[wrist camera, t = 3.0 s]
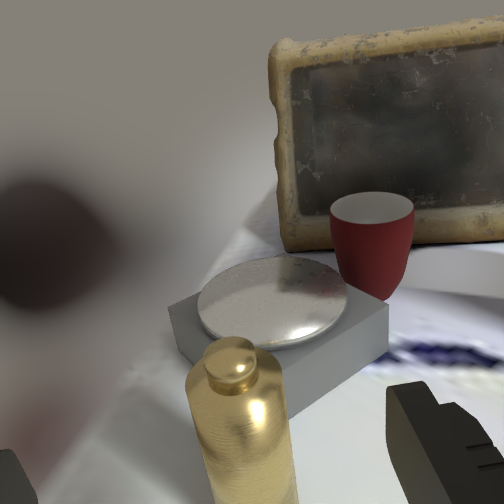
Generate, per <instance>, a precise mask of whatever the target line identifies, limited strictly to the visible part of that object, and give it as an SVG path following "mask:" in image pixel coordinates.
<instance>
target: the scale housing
mask: <svg viewBox="0 0 504 504" xmlns="http://www.w3.org/2000/svg"><path fill="white" fill-rule="evenodd" d="M275 257H292V256H290V255H288V254H286V253H282V254H280V255H278V256H275ZM345 284H346V288H347V309H346V312H345V314H344V316H343V318H342V319H341V321H340V322H339V323H338V324H337V325H336V326H335V327H334V328H333V329H332V330H331V331H329V332H328V333H326V334H325V335H323V336H322V337H320V338H318V339H316V340H314V341H311V342H309V343H307V344H304V345H301V346H297V347H294V348H289V349H284V350H276V351H268V352H269V353H271V354H272V355H273V356H274V357H275V358H276V359H277V360H278V362H279V363H280V365H281V368H282V375H283V383H284V390H285V398H286V406H287V414H288V420H289V419H290V418H292V417H293V416H295V415H296V414H298V413H299V412H301V411H302V410H303V409H305V408H306V407H308V406H309V405H311V404H312V403H313V402H315V401H316V400H318V399H319V398H321V397H322V396H324V395H325V394H326V393H328V392H329V391H331V390H332V389H334V388H335V387H337V386H338V385H339V384H341V383H342V382H344V381H345V380H347V379H348V378H349V377H351V376H352V375H354V374H355V373H357V372H358V371H360V370H361V369H362V368H364V367H365V366H367V365H368V364H370V363H371V362H373V361H374V360H375V359H377V358H378V357H380V356H381V355H383V354H384V353H386V352H387V351H388V327H389V304H387V303H385V302H383V301H381V300H379V299H377V298H375V297H373V296H371V295H369V294H367V293H365V292H363V291H361V290H359V289H357V288H355V287H353V286H351V285H349V284H347V283H345ZM201 292H202V291H201ZM201 292H199V293H197V294H195V295H193V296H191V297H188V298H186V299H184V300H182V301H180V302H178V303H176V304H174V305H172V306H169V307H168V311H169V315H170V319H171V323H172V326H173V330H174V334H175V338H176V342H177V346H178V349H179V350H180V351H181V353H182V354H183V355H184V356H185V357H186V358H187V359H188V360H189V361H190V362H191V363H192V364H193V365H195V364H196V363H197V362H198V361H199V360H200V359H202V358H203V354H204V351H205V349H206V348H207V347H208V346H209V345H210V344H211V343H213V342H214V341H216V340H215V339H214V338H213V337H211V336H210V335H209V334H208V333H207V332H206V331H205V329H204V328H203V326H202V324H201V321H200V317H199V313H198V306H197V304H198V298H199V296H200V293H201Z"/></svg>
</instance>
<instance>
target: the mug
mask: <svg viewBox="0 0 504 504" xmlns="http://www.w3.org/2000/svg"><path fill="white" fill-rule="evenodd" d="M329 213H330V233H331V238H332V243H333V247H334V251H335V255H336V259H337V263H338V267H339V271H340V274H341V276H342V279H343V280H344V282H345V283H347V284H349V285H351V286H353V287H355V288H357V289H359V290H361V291H363V292H365V293H367V294H369V295H371V296H373V297H375V298H377V299H379V300H381V301H384V300H386V299H388V298H389V297H390V296H391V295H392V293H393V292H394V290H395V289H396V287H397V286H398V284H399V283H400V281H401V279H402V278H403V275H404V272H405V268H406V264H407V260H408V256H409V251H410V247H411V243H412V239H413V233H414V218H415V208H414V204H413V202H412V201H411V200H409V199H408V198H406V197H404V196H401V195H398V194H394V193H388V192H362V193H356V194H351V195H348V196H345V197H342V198H340V199H338V200H336V201H335V202H334V203H333V204H332V205H331V206H330V210H329Z"/></svg>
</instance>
